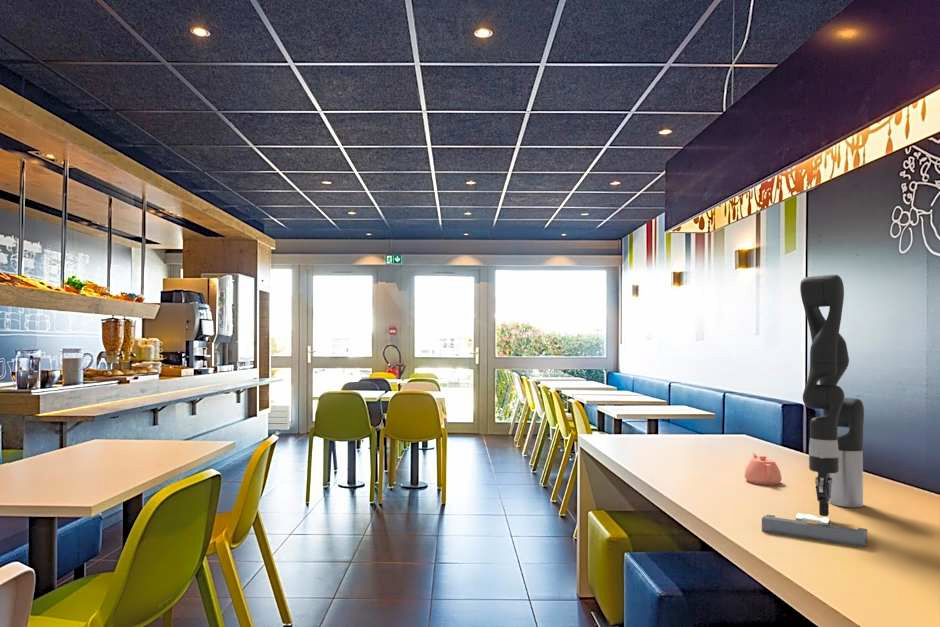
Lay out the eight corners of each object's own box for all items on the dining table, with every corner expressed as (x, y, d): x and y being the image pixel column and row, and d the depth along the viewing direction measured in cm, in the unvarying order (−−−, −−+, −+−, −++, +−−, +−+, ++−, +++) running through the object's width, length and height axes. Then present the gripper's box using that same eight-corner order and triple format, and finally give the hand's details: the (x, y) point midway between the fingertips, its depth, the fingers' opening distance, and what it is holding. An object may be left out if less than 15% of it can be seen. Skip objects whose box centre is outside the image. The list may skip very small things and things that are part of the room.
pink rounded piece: (752, 486, 241) (752, 459, 241) (737, 476, 258) (737, 450, 259) (788, 487, 239) (788, 460, 240) (770, 477, 257) (770, 451, 258)
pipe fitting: (802, 525, 193) (795, 528, 188) (802, 511, 193) (795, 513, 188) (834, 530, 187) (827, 534, 182) (834, 516, 188) (827, 519, 183)
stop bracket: (767, 525, 190) (767, 511, 190) (867, 540, 176) (867, 525, 176) (761, 531, 184) (761, 516, 184) (865, 547, 170) (864, 531, 170)
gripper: (812, 450, 204) (813, 509, 204) (805, 456, 194) (805, 518, 193) (841, 452, 200) (841, 513, 200) (835, 459, 189) (835, 522, 189)
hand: (824, 515), depth 196 cm, fingers closed
